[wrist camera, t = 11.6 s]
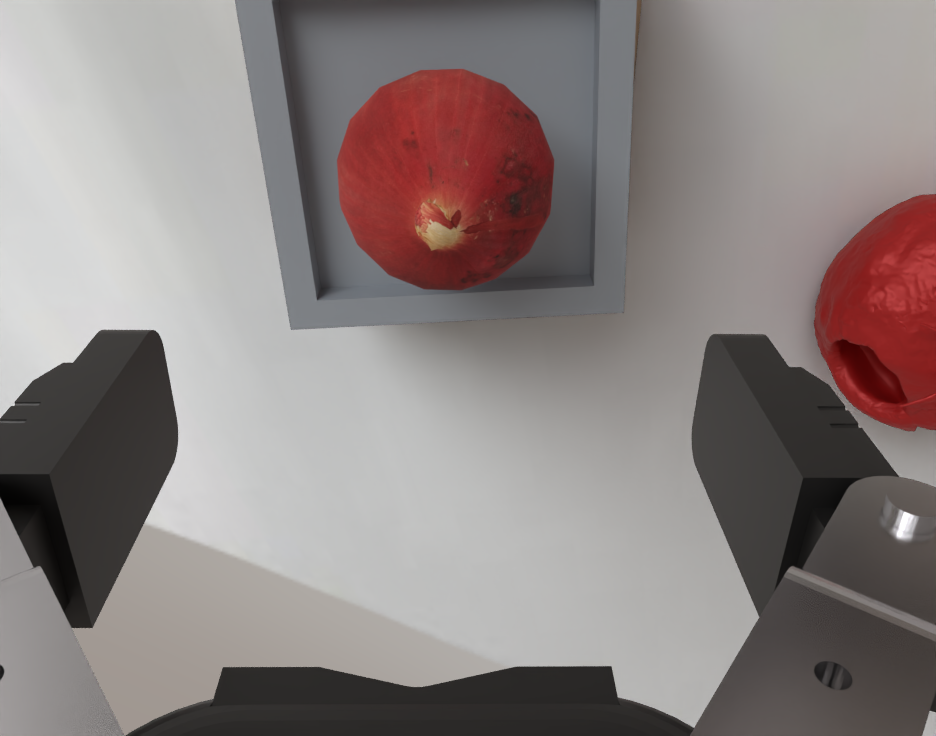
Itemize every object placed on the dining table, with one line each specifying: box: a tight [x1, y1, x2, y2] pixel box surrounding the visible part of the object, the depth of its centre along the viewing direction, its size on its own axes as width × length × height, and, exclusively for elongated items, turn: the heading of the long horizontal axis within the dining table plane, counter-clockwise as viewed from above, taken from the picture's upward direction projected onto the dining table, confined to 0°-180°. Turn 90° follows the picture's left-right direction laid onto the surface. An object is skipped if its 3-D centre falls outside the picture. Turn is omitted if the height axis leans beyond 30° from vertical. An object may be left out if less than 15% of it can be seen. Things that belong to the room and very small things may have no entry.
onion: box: [337, 69, 554, 290], centre depth 23 cm, size 6×6×8 cm
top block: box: [235, 0, 637, 330], centre depth 27 cm, size 11×11×4 cm
